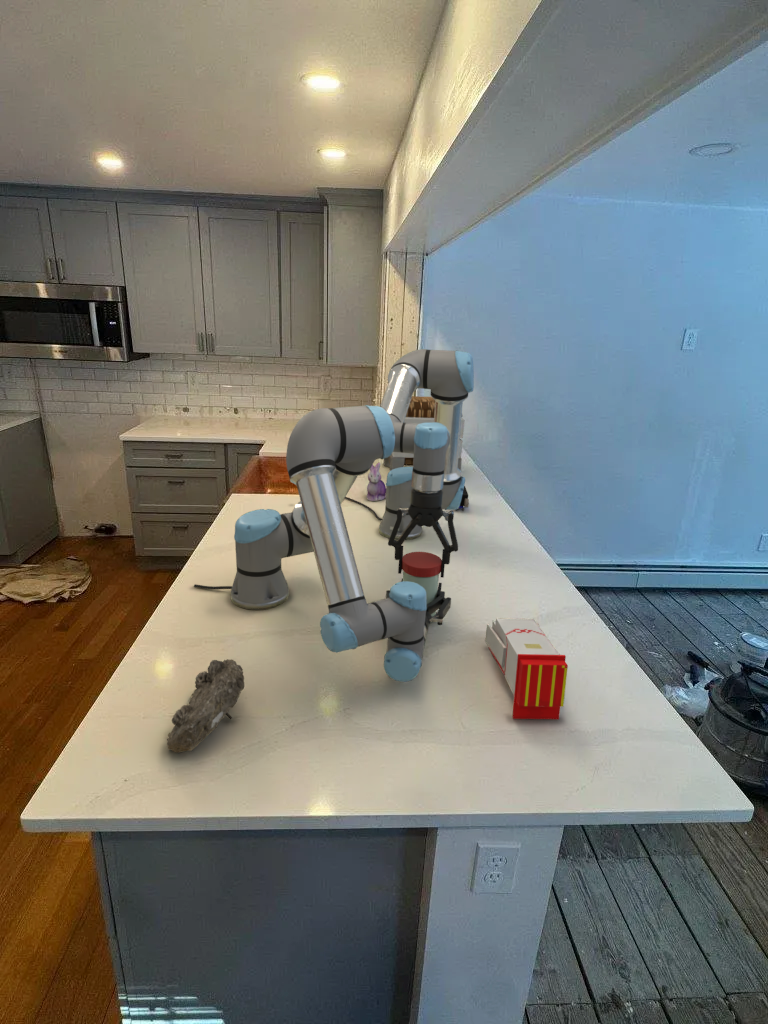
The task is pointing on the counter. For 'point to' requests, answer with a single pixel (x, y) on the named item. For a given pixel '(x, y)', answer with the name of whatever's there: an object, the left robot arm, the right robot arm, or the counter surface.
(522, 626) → the toy
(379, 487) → the figurine
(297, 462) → the left robot arm
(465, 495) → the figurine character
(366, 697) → the counter surface
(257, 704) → the counter surface
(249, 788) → the counter surface
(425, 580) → the jar
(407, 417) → the grey slatted crate
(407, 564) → the lid
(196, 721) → the fossil
